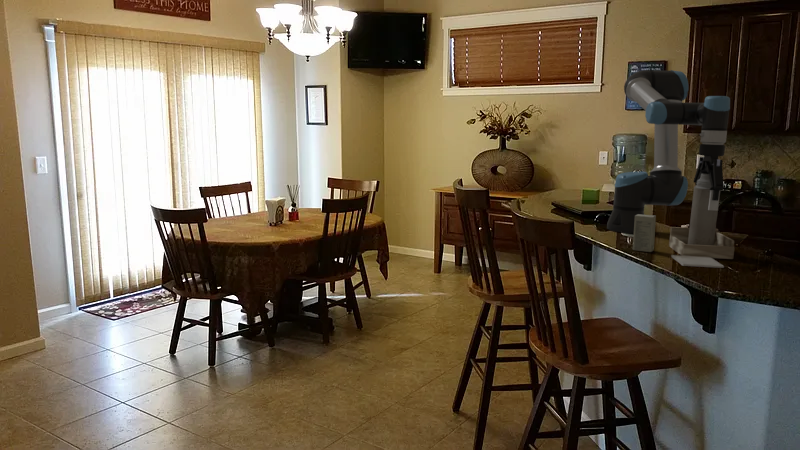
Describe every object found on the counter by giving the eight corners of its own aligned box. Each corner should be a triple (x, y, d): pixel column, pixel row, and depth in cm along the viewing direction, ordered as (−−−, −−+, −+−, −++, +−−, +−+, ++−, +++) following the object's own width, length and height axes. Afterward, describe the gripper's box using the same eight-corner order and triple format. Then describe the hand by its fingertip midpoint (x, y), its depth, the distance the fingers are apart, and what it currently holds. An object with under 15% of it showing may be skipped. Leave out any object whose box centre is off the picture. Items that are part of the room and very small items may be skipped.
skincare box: (653, 250, 207) (657, 215, 205) (651, 252, 204) (654, 217, 201) (634, 247, 211) (637, 213, 209) (631, 249, 207) (634, 215, 205)
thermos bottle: (708, 250, 209) (718, 170, 204) (715, 255, 201) (726, 172, 196) (684, 249, 210) (693, 169, 205) (690, 254, 203) (699, 171, 198)
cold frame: (668, 246, 214) (670, 226, 213) (715, 248, 212) (717, 228, 211) (683, 256, 199) (685, 235, 198) (733, 258, 197) (735, 238, 196)
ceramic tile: (671, 256, 199) (671, 254, 198) (709, 258, 197) (709, 256, 197) (682, 265, 187) (683, 263, 187) (723, 267, 185) (723, 266, 185)
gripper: (687, 141, 212) (681, 201, 215) (714, 145, 187) (707, 212, 191) (710, 142, 211) (703, 202, 214) (740, 145, 186) (732, 213, 190)
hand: (705, 207), depth 203 cm, fingers open, 13 cm apart
